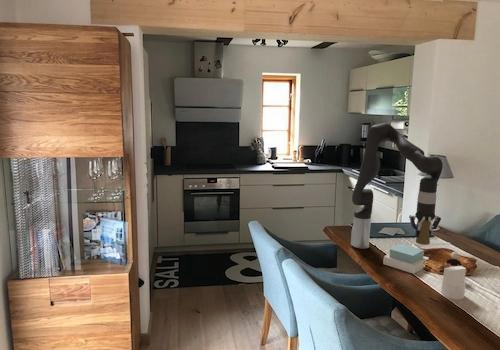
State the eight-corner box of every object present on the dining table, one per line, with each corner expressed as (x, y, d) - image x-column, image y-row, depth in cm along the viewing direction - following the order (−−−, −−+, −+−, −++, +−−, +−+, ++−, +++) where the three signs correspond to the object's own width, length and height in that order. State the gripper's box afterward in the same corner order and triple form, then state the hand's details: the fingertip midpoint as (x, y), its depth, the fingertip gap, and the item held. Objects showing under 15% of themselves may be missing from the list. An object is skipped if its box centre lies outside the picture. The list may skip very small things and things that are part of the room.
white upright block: (451, 300, 169) (454, 273, 167) (436, 291, 178) (438, 265, 175) (469, 298, 172) (472, 271, 169) (453, 288, 180) (455, 263, 178)
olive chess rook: (413, 240, 187) (415, 217, 185) (425, 240, 188) (428, 217, 186) (419, 244, 181) (421, 221, 179) (432, 244, 182) (434, 221, 180)
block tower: (383, 263, 207) (384, 248, 205) (398, 256, 217) (399, 241, 216) (413, 273, 195) (415, 258, 194) (428, 265, 206) (429, 250, 204)
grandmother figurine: (460, 277, 192) (463, 251, 190) (461, 280, 189) (464, 254, 186) (442, 274, 195) (445, 249, 192) (443, 277, 191) (446, 252, 189)
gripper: (413, 202, 178) (409, 240, 181) (446, 203, 177) (442, 241, 180) (407, 198, 185) (404, 234, 188) (439, 199, 184) (435, 235, 188)
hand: (422, 237), depth 184 cm, fingers closed on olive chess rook, 4 cm apart
